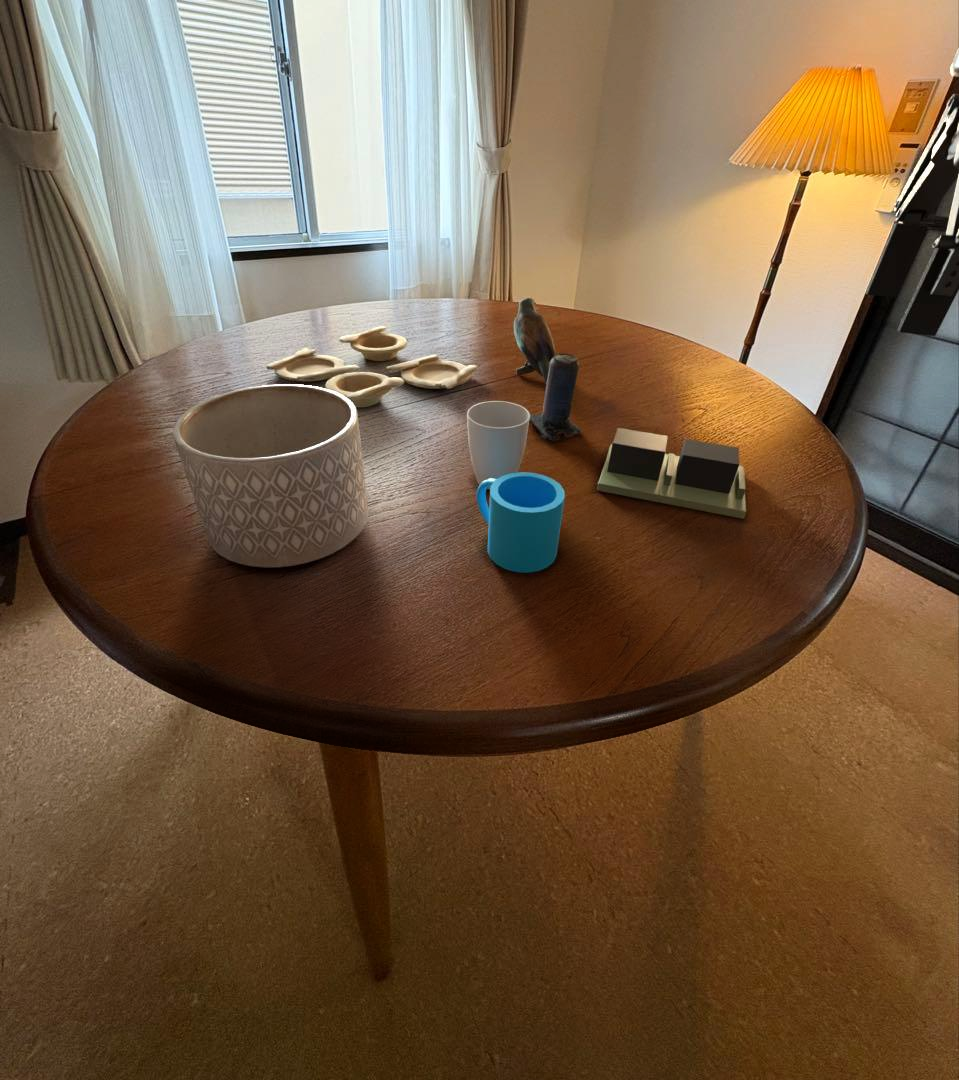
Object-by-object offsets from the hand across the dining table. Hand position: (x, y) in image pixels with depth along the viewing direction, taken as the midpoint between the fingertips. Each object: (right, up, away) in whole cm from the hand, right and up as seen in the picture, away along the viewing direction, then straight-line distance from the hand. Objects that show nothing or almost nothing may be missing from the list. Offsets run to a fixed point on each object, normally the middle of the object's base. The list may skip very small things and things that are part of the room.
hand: (896, 312), depth 53 cm
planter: (-63, -20, +15) cm, 67 cm away
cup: (-38, -13, +25) cm, 47 cm away
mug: (-36, -22, +14) cm, 44 cm away
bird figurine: (-28, +10, +56) cm, 64 cm away
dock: (-13, -13, +26) cm, 32 cm away
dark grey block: (-9, -13, +24) cm, 29 cm away
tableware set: (-60, +10, +54) cm, 82 cm away
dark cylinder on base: (-28, -4, +38) cm, 48 cm away
